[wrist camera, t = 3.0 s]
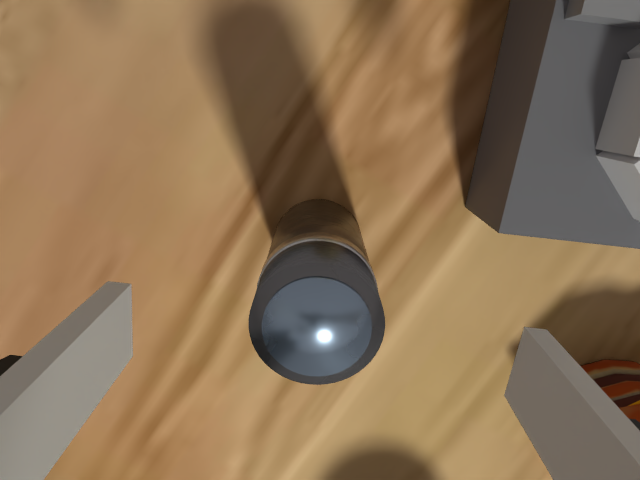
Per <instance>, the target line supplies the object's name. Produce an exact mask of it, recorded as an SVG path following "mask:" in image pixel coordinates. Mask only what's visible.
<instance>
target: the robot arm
mask: <svg viewBox="0 0 640 480" xmlns="http://www.w3.org/2000/svg"><path fill="white" fill-rule="evenodd" d="M132 356H133V342H132V291H131V284H128V283H119V282H110V281H108V282H106V283H105V284H104V285H103V286H102V287H101V288H100V289H99V290H97V291H96V292H95V293H94V294H93V295H92V296H91V297H89V298H88V299H87V300H86V301H85V302H84V303H83V304H82V305H80V306H79V307H78V308H77V309H76V310H75V311H74V312H72V313H71V314H70V315H69V316H68V317H67V318H66V319H65V320H63V321H62V322H61V323H60V324H59V325H58V326H57V327H56V328H54V329H53V330H52V331H51V332H50V333H49V334H48V335H46V336H45V337H44V338H43V339H42V340H41V341H40V342H39V343H37V344H36V345H35V346H34V347H33V348H32V349H31V350H29V351H28V352H27V353H26V354H25V355H24V356H16V355H9V356H7V357H5V358H3V359H1V360H0V480H44V478H45V477H46V476H47V474H48V473H49V471H50V470H51V469H52V467H53V466H54V464H55V463H56V462H57V460H58V459H59V458H60V456H61V455H62V453H63V452H64V451H65V449H66V448H67V446H68V445H69V444H70V442H71V441H72V440H73V438H74V437H75V435H76V434H77V433H78V431H79V430H80V428H81V427H82V426H83V424H84V423H85V422H86V420H87V419H88V417H89V416H90V415H91V413H92V412H93V410H94V409H95V408H96V406H97V405H98V404H99V402H100V401H101V399H102V398H103V397H104V395H105V394H106V392H107V391H108V390H109V388H110V387H111V386H112V384H113V383H114V381H115V380H116V379H117V377H118V376H119V374H120V373H121V372H122V370H123V369H124V368H125V366H126V365H127V363H128V362H129V361H130V359H131V358H132ZM504 396H505V398H506V399H507V401H508V403H509V404H510V406H511V408H512V410H513V411H514V413H515V415H516V416H517V418H518V420H519V422H520V423H521V425H522V427H523V428H524V430H525V432H526V434H527V435H528V437H529V439H530V441H531V442H532V444H533V446H534V447H535V449H536V451H537V453H538V454H539V456H540V458H541V459H542V461H543V463H544V465H545V466H546V468H547V470H548V471H549V473H550V475H551V477H552V478H553V480H640V422H639V421H637V420H636V419H629V418H628V417H627V416H626V415H625V414H624V413H623V412H622V411H621V410H620V409H619V408H618V406H617V405H616V404H615V403H614V402H613V401H612V400H611V399H610V398H609V397H608V396H607V394H606V393H605V392H604V391H603V390H602V389H601V388H600V387H599V386H598V385H597V384H596V383H595V381H594V380H593V379H592V378H591V377H590V376H589V375H588V374H587V373H586V372H585V371H584V369H583V368H582V367H581V366H580V365H579V364H578V363H577V362H576V361H575V360H574V359H573V357H572V356H571V355H570V354H569V353H568V352H567V351H566V350H565V349H564V348H563V347H562V346H561V344H560V343H559V342H558V341H557V340H556V339H555V338H554V337H553V336H552V335H551V334H550V332H549V331H548V330H547V329H538V328H529V327H524V330H523V333H522V337H521V340H520V343H519V347H518V350H517V354H516V357H515V360H514V364H513V367H512V371H511V374H510V377H509V381H508V384H507V388H506V391H505V394H504Z"/></svg>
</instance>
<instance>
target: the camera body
mask: <svg viewBox="0 0 640 480" xmlns="http://www.w3.org/2000/svg"><path fill="white" fill-rule="evenodd" d="M465 207H466V208H467V209H468V210H470V211H471V212H472V213H473V214H475V215H476V216H477V217H479V218H480V219H481V220H483V221H484V222H485V223H486V224H488V225H489V226H490V227H492V228H493V229H494V230H495V231H497V232H498V233H503V234H512V235H521V236H530V237H539V238H548V239H557V240H566V241H575V242H584V243H593V244H602V245H610V246H619V247H628V248H637V249H640V0H511V1H510V5H509V10H508V14H507V19H506V24H505V28H504V33H503V37H502V42H501V46H500V51H499V55H498V60H497V64H496V69H495V73H494V78H493V83H492V87H491V92H490V96H489V101H488V105H487V110H486V114H485V119H484V123H483V128H482V132H481V137H480V142H479V146H478V151H477V155H476V160H475V164H474V169H473V173H472V178H471V182H470V187H469V191H468V196H467V201H466V205H465Z"/></svg>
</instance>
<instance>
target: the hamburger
mask: <svg viewBox="0 0 640 480" xmlns="http://www.w3.org/2000/svg"><path fill="white" fill-rule="evenodd" d="M581 367H582V368H583V369H584V371H585V372H586V373H587V374H588V375H589V376H590V377H591V378H592V379H593V380H594V381H595V383H596V384H597V385H598V386H599V387H600V388H601V389H602V390H603V391H604V392H605V393H606V394H607V396H608V397H609V398H610V399H611V400H612V401H613V402H614V403H615V404H616V405H617V406H618V408H619V409H620V410H621V411H622V412H623V413H624V414H625V415H626V416H627V417H628V418H629V419H636V420H637V421H639V422H640V364H638V363H636V362H633V361H619V360H601V361H597V362H593V363H590V364H586V365H583V366H581Z"/></svg>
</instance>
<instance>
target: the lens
mask: <svg viewBox="0 0 640 480" xmlns="http://www.w3.org/2000/svg"><path fill="white" fill-rule="evenodd" d="M384 330H385V317H384V311H383V307H382V304H381V300H380V297H379V294H378V288H377V283H376V279H375V276H374V273H373V270H372V267H371V265H370V263H369V260H368V256H367V253H366V249H365V246H364V243H363V239H362V236H361V232H360V229H359V226H358V224H357V222H356V220H355V219H354V217H353V216H352V215H351V213H350V212H349V211H348V210H346V209H345V208H344V207H342V206H341V205H339V204H337V203H335V202H332V201H328V200H322V199H314V200H308V201H304V202H301V203H299V204H297V205H295V206H294V207H292V208H291V209H289V210H288V211H287V212H286V213H285V214H284V216H283V217H282V218H281V220H280V222H279V224H278V226H277V229H276V232H275V235H274V238H273V241H272V244H271V247H270V250H269V254H268V257H267V260H266V262H265V264H264V266H263V268H262V271H261V274H260V278H259V281H258V285H257V291H256V294H255V297H254V300H253V303H252V306H251V310H250V315H249V332H250V337H251V341H252V344H253V346H254V348H255V350H256V352H257V353H258V355H259V356H260V358H261V359H262V360H263V361H264V363H265V364H266V365H268V366H269V367H270V368H271V369H272V370H274V371H275V372H276V373H278V374H280V375H281V376H283V377H285V378H288V379H290V380H293V381H296V382H300V383H305V384H317V385H319V384H329V383H335V382H338V381H341V380H344V379H346V378H349V377H351V376H353V375H354V374H356V373H358V372H359V371H360V370H362V369H363V368H364V367H365V366H366V365H367V364H368V363H369V362H370V361H371V360H372V359H373V357H374V356H375V355H376V353H377V351H378V350H379V348H380V345H381V343H382V340H383V336H384Z"/></svg>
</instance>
